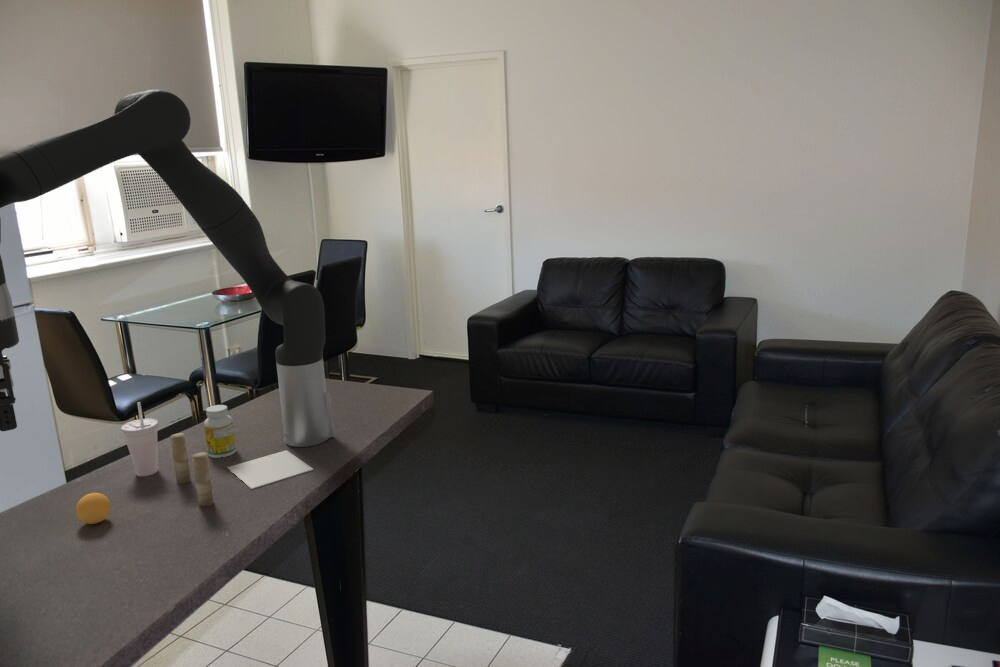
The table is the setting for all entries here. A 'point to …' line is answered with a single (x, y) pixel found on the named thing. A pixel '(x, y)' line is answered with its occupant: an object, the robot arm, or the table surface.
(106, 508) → the ball
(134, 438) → the smoothie
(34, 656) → the table surface
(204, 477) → the post
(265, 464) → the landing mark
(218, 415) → the supplement bottle
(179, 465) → the post
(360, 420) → the table surface
